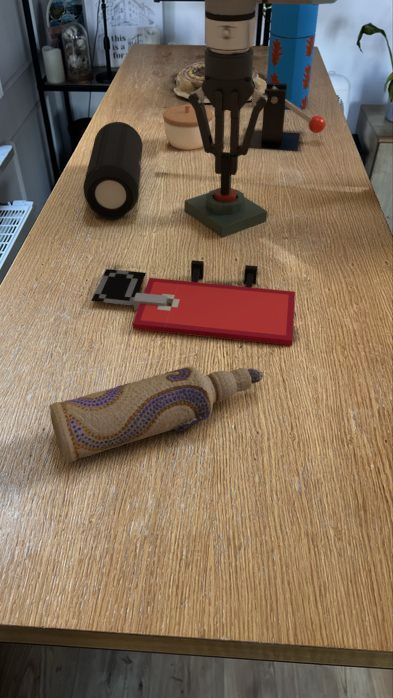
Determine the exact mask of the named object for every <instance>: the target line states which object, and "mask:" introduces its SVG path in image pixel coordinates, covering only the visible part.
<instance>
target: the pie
mask: <svg viewBox="0 0 393 698" xmlns="http://www.w3.org/2000/svg"><path fill="white" fill-rule="evenodd" d="M204 78H205V62H204V61H199V62H194V63H192V64H188V65H186V66H185V67H184V68H183V69H181V71H180V72H179V73H178V74H177V76H176V77H174V80H175V84H176V86H175V87H174V88H173V89H172V90H173V92H174V93H175V95H176V96H177V97H182V98H185V99H186V100H188V97H189V95H190V94H191V92H192V91H193V90H198V89H199V88H201V87H202V83H203V81H204ZM252 78H253V81H254V84H255V89H256V88H257V89H256V90H257V91H259V92H260V93H261V94H264V93H265V89H266V84H267V83H266V82H267V81H266V80H264V79H263V78H261V77H259V70H257V69H256V68H255V66H253V74H252ZM204 97H205V100H204V104H207V103H208V104H209V103H210V101H209V100H208V98H207V97H206V95H205V94H204ZM251 99H252V96H251V97H250V98H249V99H248V101H252V100H251ZM248 101H247V102H248ZM210 104H211V103H210Z"/></svg>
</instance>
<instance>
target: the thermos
mask: <svg viewBox="0 0 393 698" xmlns="http://www.w3.org/2000/svg"><path fill="white" fill-rule="evenodd" d="M319 6H320V4H318V5H316V6H312V4H271V12H270V25H269V27H270V28H269V39H268V40H269V41H268V55H267V69H266V70H267V71H266V82H267V83H282V84H287V94H286V99H287V100H288V101H289V102H291V103H292V104H294V105H295V106H297V107H298V108H299V109H301V110H302V111H304V110H305V109H306V108H307V106H308V105H307V104H308V99H309V93H310V86H311V85H310V84H311V77H312V68H313V60H314V50H315V43H316V33H317V23H318V15H319V8H320V7H319ZM285 111H291V110H290V109H289V108H287V107H286V106H285Z"/></svg>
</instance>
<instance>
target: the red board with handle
mask: <svg viewBox="0 0 393 698" xmlns="http://www.w3.org/2000/svg"><path fill="white" fill-rule="evenodd" d="M204 268H205V262H204V260H194V259H191V262H190V279H191V280H190V281H189V280H188V281H186V280H178V279H168V278H159V277H157V278H156V277H148V279H147V283H146V286H145V289H144V291H143V293H142V292H140V290H141V287H142V285H143V283H144V280H145V278H146V274H147V272H142V271H132V270H123V269H122V270H121V269H113V268H105V270H104V273H103V275H102V276H101V279H100V281H99V283H98V286H97V287H96V289H95V292H94V294H93V295H92V298H91V300H90V301H91V302H95V303H96V302H97V303H106V304H116V305H128V306H133V309H134V311H136V313H135V316H134V319H133V321H132V329H133V330H141V331H149V332H150V331H151V332H159V333H170V334H177V335H187V336H188V335H189V336H197V337H205V338H206V337H208V338H215V339H216V338H217V339H224V340H225V339H226V340H235V341H244V342H254V343H262V344H263V343H264V344H274V345H282V346H293V338H294V323H295V322H294V321H295V303H296V301H295V300H296V291H294V290H283V289H273V288H272V289H271V288H263V287H253V285H257V278H258V277H257V276H258V265H250V264H245V266H244V275H243V284H245V286H242V285H241V286H240V285H230V284H220V283H211V282H201V281H200V282H199V280H204V274H205V273H204V271H205V269H204ZM169 304H170V305H171V306H170V305H169Z"/></svg>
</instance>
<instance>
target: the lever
mask: <svg viewBox="0 0 393 698" xmlns="http://www.w3.org/2000/svg"><path fill="white" fill-rule="evenodd" d="M272 89H278V88H277V87H275V86H273V87H272ZM285 106H286V107H287V108H289V109H290V110H289V111H292V112H293V113H294V114H295V115H297V116H299V117H300V118H302V119H303V120H304V121H306V122H307V123H308V129H309V131H310V132H311V133H314V134H320V133H322V132H323V131H324V130H325V128H326V120H325V118H324V117H323V116H321V115H314V116H312V115H309V114H308V113H307V112H305V111H304V110H301V109H299V108H298V107H297V106H295V105H294V104H292V103H291V102H289V101H288V100H287V99H285Z"/></svg>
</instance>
